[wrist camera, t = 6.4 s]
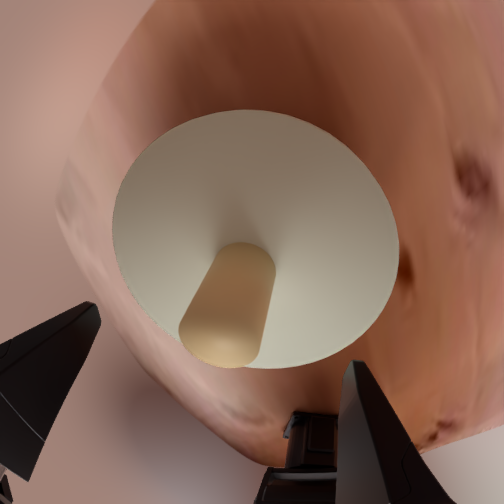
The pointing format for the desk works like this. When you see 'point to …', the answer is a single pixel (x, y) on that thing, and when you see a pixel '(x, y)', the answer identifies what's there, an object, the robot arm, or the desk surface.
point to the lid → (255, 239)
